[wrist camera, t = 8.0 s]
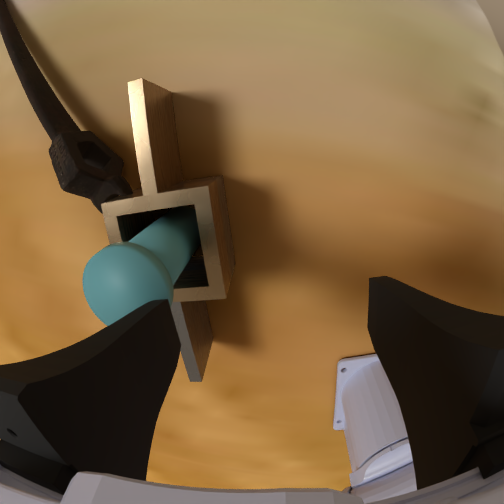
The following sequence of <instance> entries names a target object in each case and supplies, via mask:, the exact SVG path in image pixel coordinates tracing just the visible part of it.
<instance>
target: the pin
mask: <svg viewBox="0 0 504 504" xmlns="http://www.w3.org/2000/svg"><path fill="white" fill-rule="evenodd" d="M200 243H201V240H200V234H199V228H198V222H197V216H196V210H195V209H194V208H192V207H189V206H178V207H175V208H173V209H171V210H170V211H169V212H167V213H166V214H164V215H163V216H162V217H160V218H159V219H158V220H156V221H155V222H153V223H152V224H151V225H149V226H148V227H147V228H145V229H144V230H143V231H141V232H140V233H139V234H137V235H136V236H135V237H133V238H132V239H131V240H130V241H128V242H117V243H113V244H110V245H108V246H106V247H105V248H103V249H102V250H101V251H99V252H98V253H96V254H95V255H94V256H93V257H92V258H91V259H90V260H89V261H88V263H87V265H86V267H85V269H84V273H83V290H84V294H85V297H86V300H87V302H88V304H89V306H90V308H91V309H92V311H93V312H94V313H95V315H96V316H97V317H98V318H99V319H100V320H101V321H102V322H103V323H104V324H106V325H107V326H109V325H111V324H113V323H114V322H116V321H117V320H119V319H121V318H122V317H124V316H125V315H127V314H129V313H130V312H132V311H133V310H135V309H137V308H138V307H140V306H142V305H144V304H145V303H147V302H150V301H152V300H161V299H168V301H169V304H170V308H171V305H172V302H173V296H174V289H173V285H174V284H175V282H176V280H177V279H178V277H179V276H180V274H181V273H182V271H183V269H184V268H185V266H186V265H187V263H188V262H189V260H190V259H191V257H192V255H193V254H194V252H195V251H196V249H197V248H198V246H199V245H200Z"/></svg>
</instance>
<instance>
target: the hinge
mask: <svg viewBox="0 0 504 504" xmlns="http://www.w3.org/2000/svg"><path fill="white" fill-rule="evenodd" d="M128 90H129V100H130V109H131V118H132V126H133V134H134V142H135V149H136V156H137V162H138V168H139V175H140V181H141V186H142V188H140V189H135V190H133V194H130V195H126V196H118V197H116V198H113V199H111V200H109V201H106V202H104V203H102V204H101V207H102V212H103V216H104V221H105V225H106V230H107V234H108V238H109V242H110V244H113V243H117V242H128V241H130V240H131V239H132V238H133V237H135V236H136V235H137V234H139V233H140V232H141V231H143V230H144V229H145V228H147V227H148V226H149V225H151V224H152V223H153V217H152V212H151V210H157V209H164V208H171V207H178V206H185V205H192V204H195V210H196V216H197V222H198V228H199V234H200V240H201V245H202V251H203V256H195V257H191V259H190V260H189V262H188V263H187V265H186V266H185V268H184V269H183V271H182V273H181V274H180V276H179V277H178V279H177V280H176V282H175V284H174V285H173V289H174V296H173V302H172V305H171V312H172V315H173V319H174V322H175V325H176V329H177V332H178V336H179V339H180V342H181V349H180V351H181V354H182V357H183V361H184V364H185V367H186V370H187V373H188V376H189V379H190V382H202V379H203V376H204V372H205V368H206V364H207V360H208V357H209V353H210V349H211V345H212V342H213V334H212V330H211V325H210V321H209V316H208V312H207V307H206V302H205V300H215V299H226V298H227V294H228V290H229V286H230V283H231V279H232V275H233V271H234V267H235V258H234V251H233V244H232V237H231V230H230V223H229V216H228V209H227V202H226V195H225V188H224V181H223V175H221V176H214V177H207V178H200V179H193V180H187V181H183V175H182V169H181V162H180V155H179V148H178V141H177V133H176V126H175V118H174V110H173V101H172V93H171V92H170V91H168V90H166V89H164V88H162V87H160V86H158V85H156V84H153V83H151V82H149V81H147V80H145V79H143V78H141V79H138V80H134V81H131V82H128Z"/></svg>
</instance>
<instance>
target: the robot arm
mask: <svg viewBox="0 0 504 504" xmlns="http://www.w3.org/2000/svg"><path fill="white" fill-rule="evenodd" d="M368 331H369V334H370V337H371V341H372V344H373V347H374V350H375V352H376V354H372V355H365V356H359V357H352V358H345V359H341V360H340V361H339V362H338V364H337V382H336V397H335V410H334V421H333V428H334V430H343V429H344V433H345V438H346V443H347V448H348V453H349V458H350V463H351V468H352V472H353V473H350V474H349V476H350V482H351V486H350V487H347V488H345V489H344V490H343V491H342V492H341V491H337V490H333V489H329V488H278V489H213V488H198V487H186V486H177V485H169V484H161V483H154V482H148V481H146V475H147V467H148V460H149V454H150V449H151V443H152V439H153V434H154V430H155V425H156V421H157V418H158V415H159V412H160V409H161V407H162V404H163V401H164V399H165V396H166V394H167V391H168V388H169V386H170V383H171V381H172V378H173V375H174V373H175V370H176V367H177V363H178V359H179V354H180V349H181V342H180V339H179V336H178V332H177V329H176V325H175V322H174V319H173V315H172V312H171V308H170V304H169V301H168V299H161V300H152V301H150V302H147V303H145V304H144V305H142V306H140V307H138V308H137V309H135V310H133V311H132V312H130V313H129V314H127V315H125V316H124V317H122V318H121V319H119V320H117V321H116V322H114V323H113V324H111V325H109V326H107V327H106V328H104V329H102V330H100V331H99V332H97V333H95V334H94V335H92V336H90V337H88V338H86V339H84V340H82V341H80V342H78V343H75V344H73V345H71V346H69V347H66V348H64V349H61V350H58V351H56V352H53V353H50V354H47V355H44V356H41V357H38V358H34V359H30V360H26V361H22V362H17V363H12V364H5V365H0V439H1V440H0V504H504V316H498V315H493V314H487V313H482V312H478V311H474V310H470V309H467V308H463V307H460V306H457V305H454V304H451V303H448V302H446V301H443V300H440V299H438V298H435V297H433V296H431V295H428V294H426V293H424V292H422V291H419V290H417V289H415V288H413V287H411V286H409V285H407V284H404V283H402V282H400V281H398V280H395V279H393V278H390V277H387V276H381V277H374V278H369V306H368ZM343 368H345V369H344V370H341V369H343Z"/></svg>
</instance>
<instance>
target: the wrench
mask: <svg viewBox="0 0 504 504" xmlns="http://www.w3.org/2000/svg"><path fill="white" fill-rule="evenodd" d="M0 32H1V35H2V37H3V40H4V43H5V46H6V48H7V51H8V53H9V56H10V58H11V61H12V63H13V65H14V68H15V70H16V72H17V75H18V77H19V79H20V81H21V84H22V86H23V88H24V90H25V93H26V95H27V97H28V99H29V101H30V103H31V105H32V107H33V109H34V111H35V113H36V115H37V116H38V118H39V120H40V122H41V123H42V125H43V127H44V129H45V130H46V132H47V134H48V135H49V137H50V138H51V140H52V144H51V147H50V149H49V154H50V157H51V160H52V164H53V167H54V170H55V173H56V176H57V178H58V181H59V184H60V186H61V188H62V189H63V190H64V191H66V192H69V193H72V194H75V195H78V196H82V197H85V198H88V199H91V201H92V203H93V204H94V205H95V207H96V208H97V209H98V210H99V211H100V212H101V213H102V214H103V212H102V207H101V204H102V203H104V202H106V201H109V200H111V199H113V198H116V197H118V196H119V195H120V196H126V195H130V194H133V191H132V189H131V187H130V185H129V184H128V182H127V181H126V180H125V179H124V178H123V177H122V176H121V173H122V168H123V164H124V162H123V160H122V159H121V158H120V157H119V156H118V155H117V154H115V153H114V152H113V151H112V150H111V149H110V148H109V147H108V146H107V145H105V144H104V143H103V142H102V141H101V140H100V139H99V138H98V137H97V136H96V135H95V134H94V133H93V132H91V131H81V130H80V129H79V128H78V126H77V125H76V123H75V122H74V121H73V119H72V118H71V117H70V115H69V114H68V113H67V111H66V110H65V108H64V107H63V105H62V104H61V103H60V101H59V100H58V98H57V96H56V95H55V93H54V92H53V90H52V89H51V87H50V86H49V84H48V82H47V81H46V79H45V78H44V76H43V74H42V73H41V71H40V69H39V68H38V66H37V64H36V63H35V61H34V59H33V57H32V56H31V54H30V52H29V50H28V49H27V47H26V45H25V43H24V41H23V39H22V37H21V35H20V33H19V31H18V29H17V27H16V25H15V23H14V21H13V19H12V17H11V15H10V13H9V11H8V9H7V6H6V4H5V2H4V0H0Z"/></svg>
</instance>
